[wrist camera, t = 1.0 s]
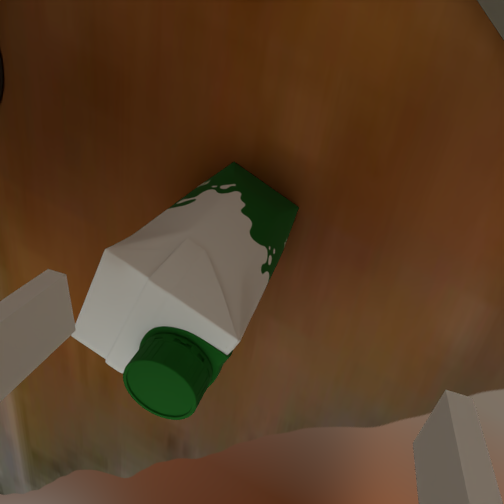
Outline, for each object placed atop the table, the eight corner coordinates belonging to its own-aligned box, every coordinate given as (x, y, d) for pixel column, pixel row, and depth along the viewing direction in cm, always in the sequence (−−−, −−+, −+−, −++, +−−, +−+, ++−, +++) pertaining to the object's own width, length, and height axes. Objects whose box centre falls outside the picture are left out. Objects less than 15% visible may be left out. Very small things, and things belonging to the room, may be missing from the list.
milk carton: (263, 269, 37) (166, 453, 20) (189, 218, 36) (28, 360, 20) (313, 205, 32) (241, 374, 15) (229, 145, 32) (61, 251, 15)
